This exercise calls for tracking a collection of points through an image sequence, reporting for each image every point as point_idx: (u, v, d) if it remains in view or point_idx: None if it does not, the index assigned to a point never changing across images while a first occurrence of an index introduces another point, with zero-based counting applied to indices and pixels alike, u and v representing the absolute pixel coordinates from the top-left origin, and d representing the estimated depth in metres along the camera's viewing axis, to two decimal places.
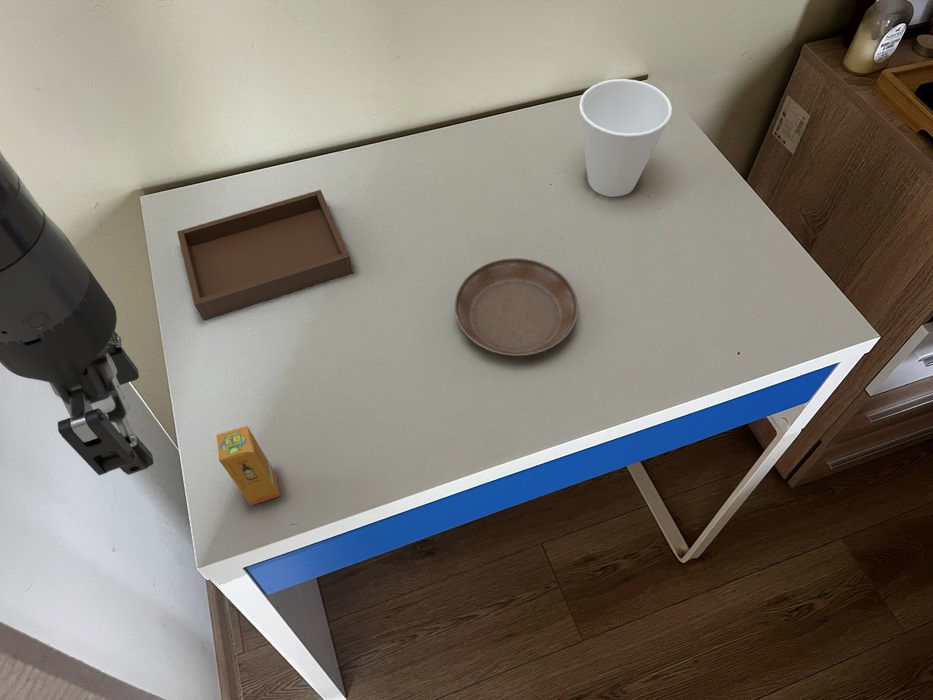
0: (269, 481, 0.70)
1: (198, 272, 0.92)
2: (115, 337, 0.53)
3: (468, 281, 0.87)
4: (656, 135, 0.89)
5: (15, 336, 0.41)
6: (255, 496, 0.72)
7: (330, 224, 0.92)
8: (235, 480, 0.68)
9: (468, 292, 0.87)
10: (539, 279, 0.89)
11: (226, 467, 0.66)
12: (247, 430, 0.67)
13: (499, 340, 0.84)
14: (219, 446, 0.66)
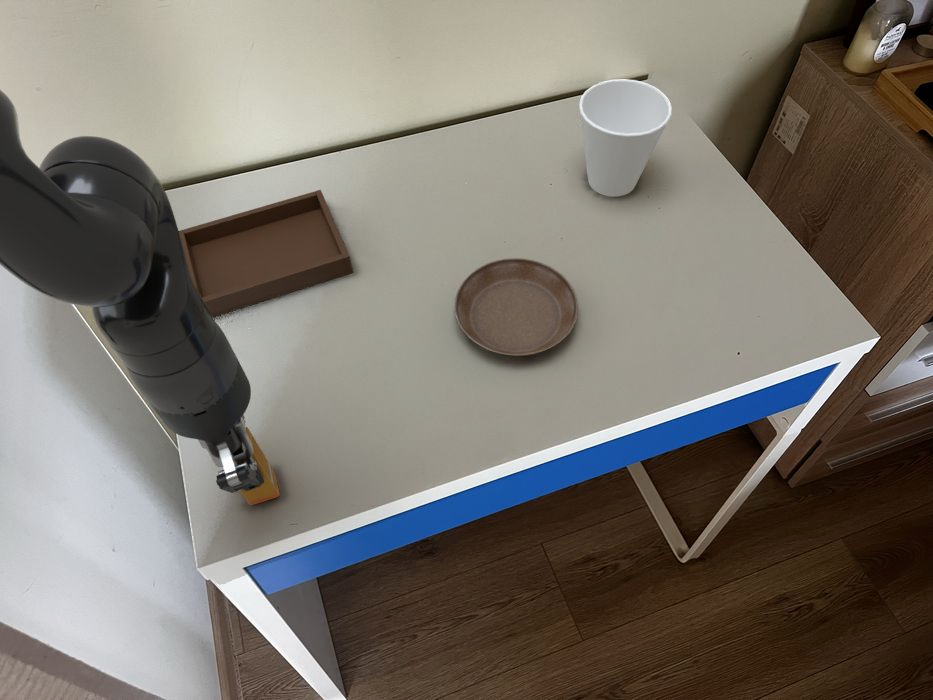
0: (269, 481, 0.70)
1: (198, 272, 0.92)
2: None
3: (468, 281, 0.87)
4: (656, 135, 0.89)
5: (189, 410, 0.54)
6: (255, 496, 0.72)
7: (330, 224, 0.92)
8: None
9: (468, 292, 0.87)
10: (539, 279, 0.89)
11: None
12: (247, 431, 0.67)
13: (499, 340, 0.84)
14: None
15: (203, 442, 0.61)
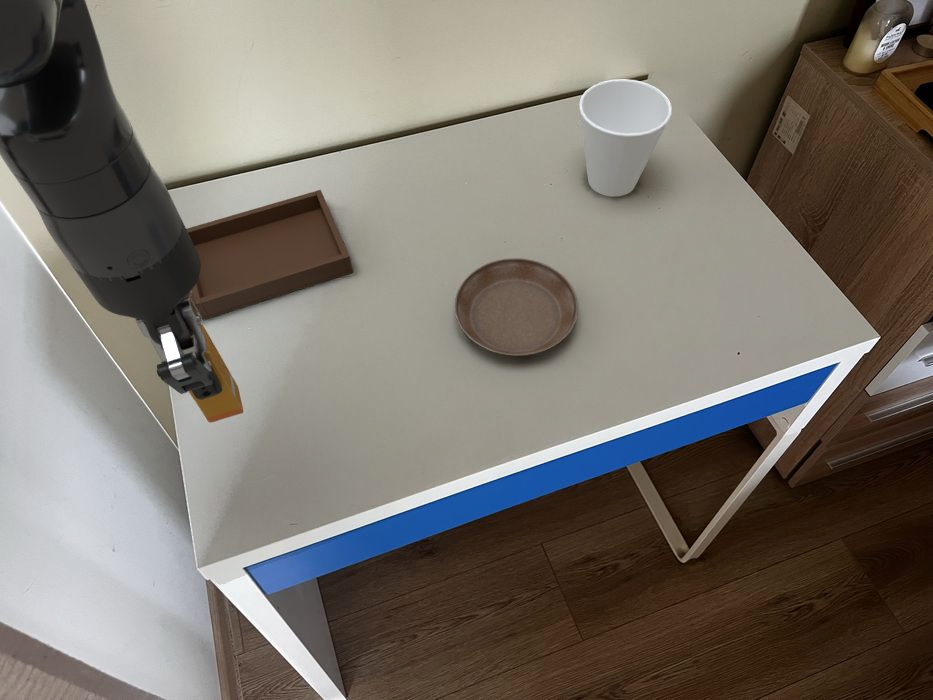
0: (230, 392, 0.61)
1: None
2: (195, 302, 0.56)
3: (468, 281, 0.87)
4: (656, 135, 0.89)
5: (119, 272, 0.44)
6: (214, 411, 0.62)
7: (330, 224, 0.92)
8: None
9: (468, 292, 0.87)
10: (539, 279, 0.89)
11: None
12: (202, 329, 0.57)
13: (499, 340, 0.84)
14: None
15: (144, 329, 0.51)
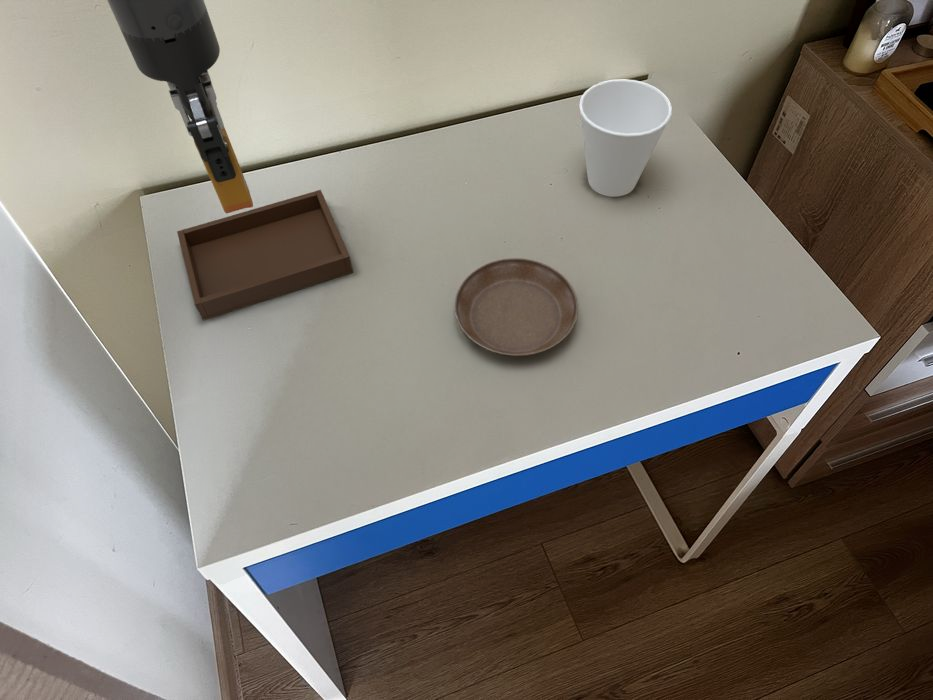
0: (242, 182, 0.76)
1: (198, 272, 0.92)
2: None
3: (468, 281, 0.87)
4: (656, 135, 0.89)
5: (160, 33, 0.59)
6: (229, 201, 0.77)
7: (330, 224, 0.92)
8: (210, 173, 0.74)
9: (468, 292, 0.87)
10: (539, 279, 0.89)
11: None
12: None
13: (499, 340, 0.84)
14: None
15: (176, 101, 0.66)
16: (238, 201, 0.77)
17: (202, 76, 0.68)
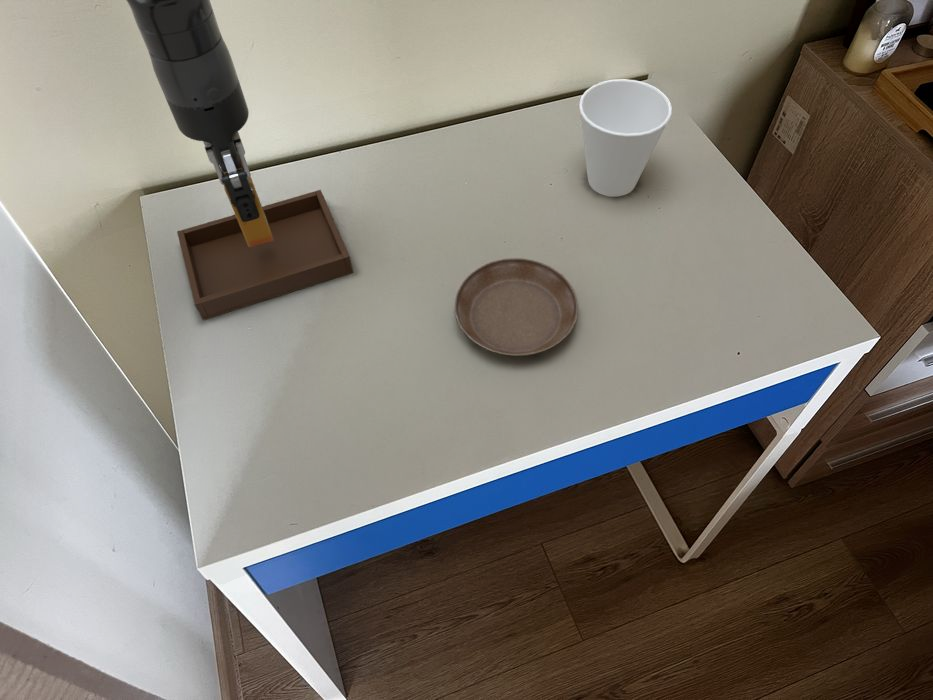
0: (264, 220, 0.86)
1: (198, 272, 0.92)
2: None
3: (468, 281, 0.87)
4: (656, 135, 0.89)
5: (200, 103, 0.69)
6: (253, 237, 0.87)
7: (330, 224, 0.92)
8: (237, 214, 0.84)
9: (468, 292, 0.87)
10: (539, 279, 0.89)
11: None
12: None
13: (499, 340, 0.84)
14: None
15: (210, 156, 0.76)
16: (260, 237, 0.88)
17: None
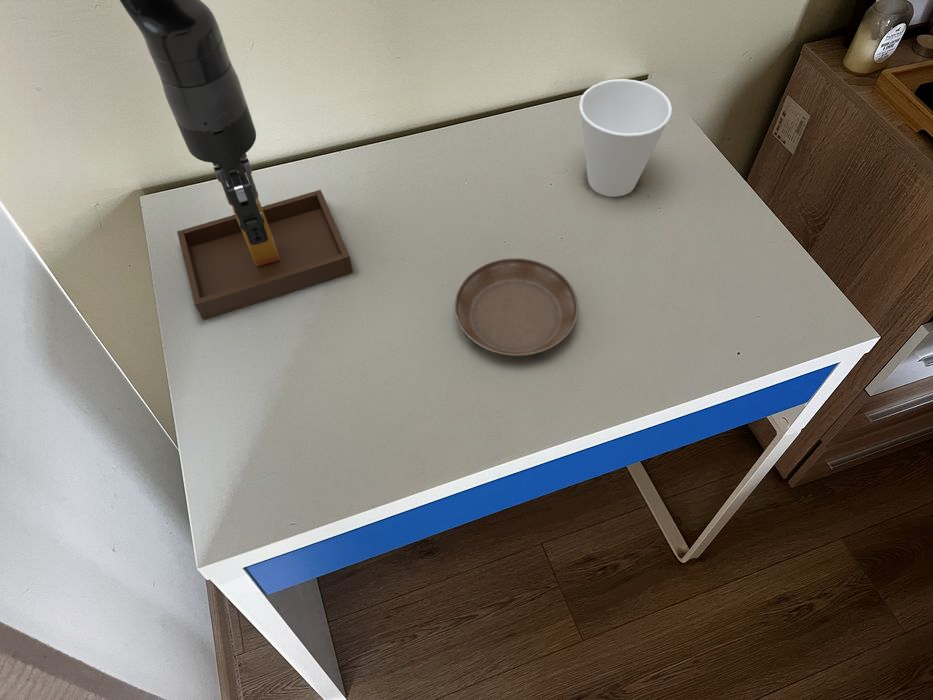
0: (271, 240, 0.89)
1: (198, 272, 0.92)
2: None
3: (468, 281, 0.87)
4: (656, 135, 0.89)
5: (210, 127, 0.72)
6: (260, 256, 0.90)
7: (330, 224, 0.92)
8: (245, 234, 0.87)
9: (468, 292, 0.87)
10: (539, 279, 0.89)
11: None
12: None
13: (499, 340, 0.84)
14: None
15: (218, 174, 0.78)
16: (267, 256, 0.91)
17: None
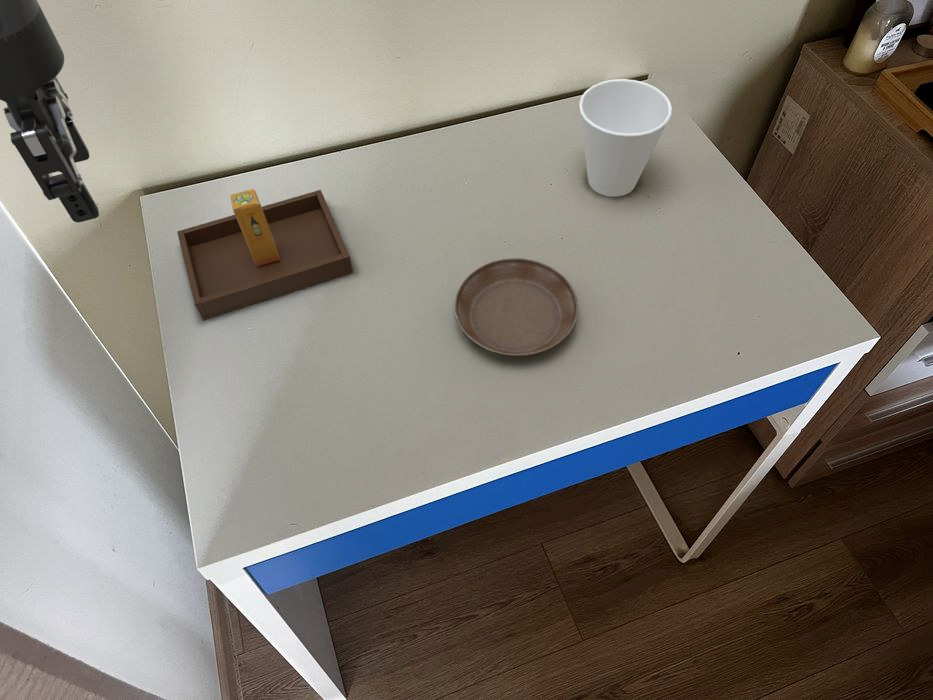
0: (271, 240, 0.89)
1: (198, 272, 0.92)
2: (66, 101, 0.60)
3: (468, 281, 0.87)
4: (656, 135, 0.89)
5: None
6: (260, 256, 0.90)
7: (330, 224, 0.92)
8: (245, 234, 0.87)
9: (468, 292, 0.87)
10: (539, 279, 0.89)
11: (238, 218, 0.85)
12: (254, 191, 0.86)
13: (499, 340, 0.84)
14: (232, 201, 0.85)
15: (11, 118, 0.55)
16: (267, 256, 0.91)
17: (49, 91, 0.57)
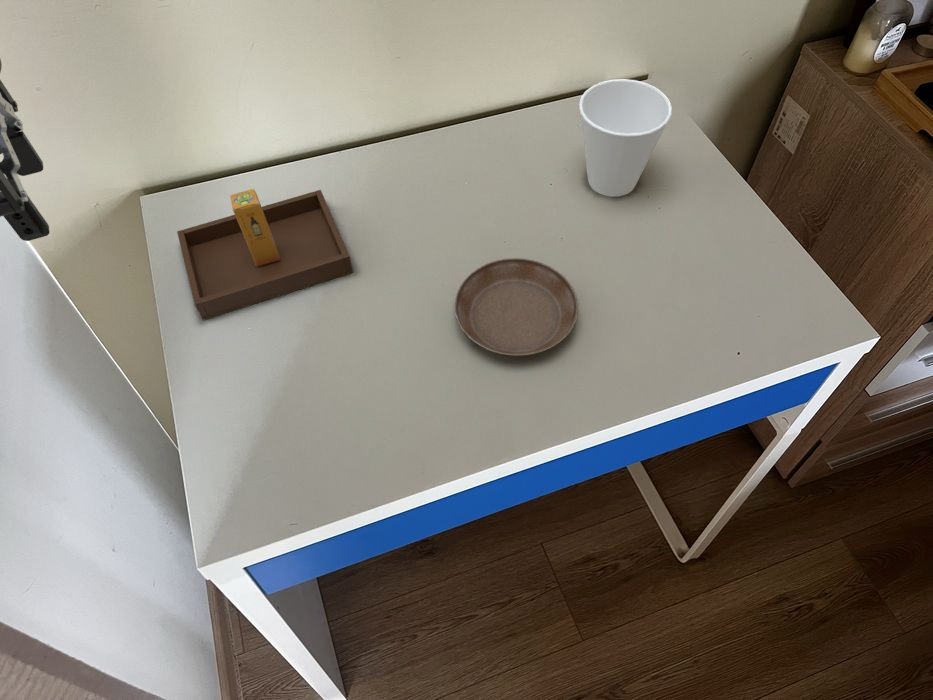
0: (271, 240, 0.89)
1: (198, 272, 0.92)
2: (12, 111, 0.56)
3: (468, 281, 0.87)
4: (656, 135, 0.89)
5: None
6: (260, 256, 0.90)
7: (330, 224, 0.92)
8: (245, 234, 0.87)
9: (468, 292, 0.87)
10: (539, 279, 0.89)
11: (238, 218, 0.85)
12: (254, 191, 0.86)
13: (499, 340, 0.84)
14: (232, 201, 0.85)
15: None
16: (267, 256, 0.91)
17: None
